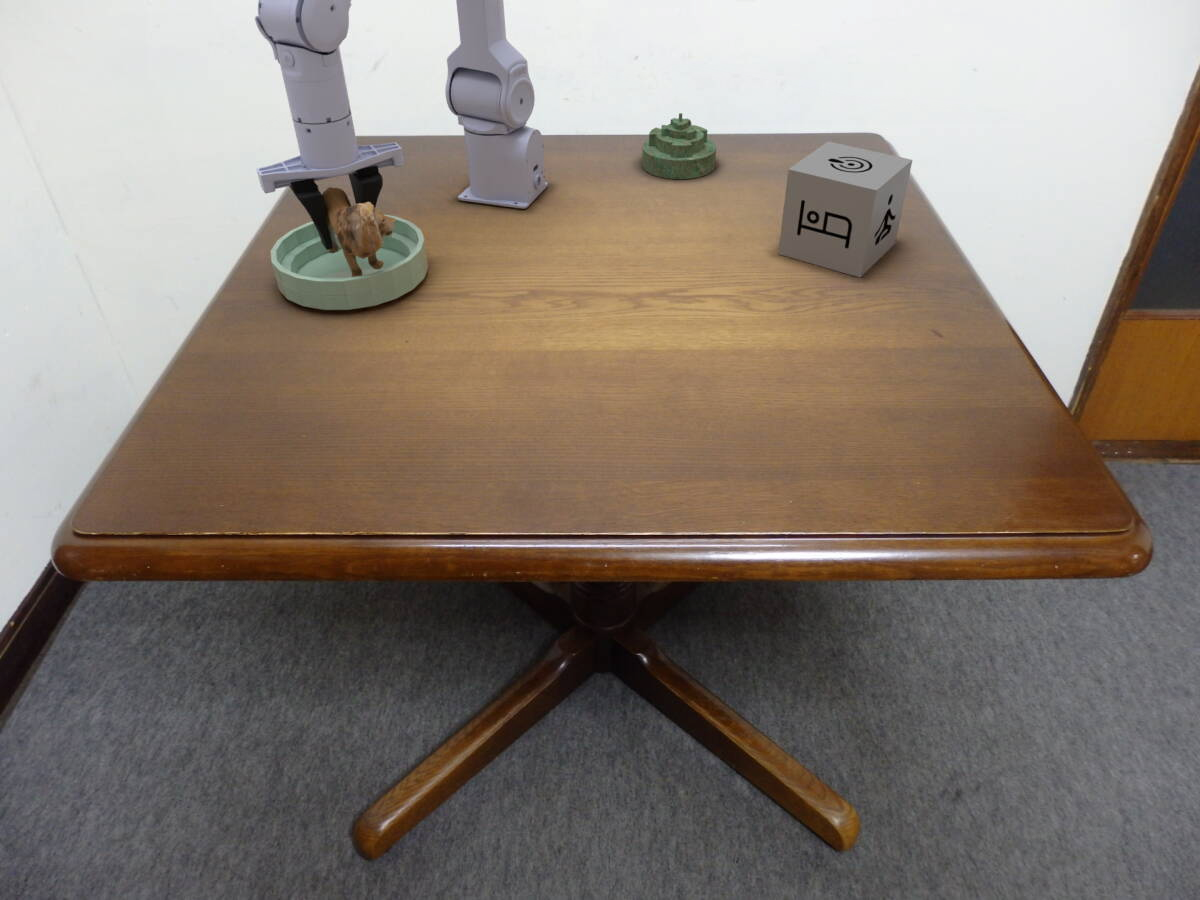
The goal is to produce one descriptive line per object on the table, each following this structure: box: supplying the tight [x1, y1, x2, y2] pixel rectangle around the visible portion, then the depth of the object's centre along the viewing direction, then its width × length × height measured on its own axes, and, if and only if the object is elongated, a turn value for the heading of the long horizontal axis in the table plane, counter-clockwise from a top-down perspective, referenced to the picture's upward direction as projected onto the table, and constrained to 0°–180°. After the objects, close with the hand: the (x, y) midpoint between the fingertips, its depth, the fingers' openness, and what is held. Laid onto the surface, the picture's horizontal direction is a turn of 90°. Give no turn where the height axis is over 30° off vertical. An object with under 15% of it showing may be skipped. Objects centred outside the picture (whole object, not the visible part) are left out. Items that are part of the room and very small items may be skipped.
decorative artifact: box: [641, 112, 717, 180], centre depth 123 cm, size 10×7×10 cm
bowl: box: [270, 214, 429, 311], centre depth 100 cm, size 16×16×4 cm
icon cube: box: [777, 141, 913, 278], centre depth 102 cm, size 10×10×10 cm
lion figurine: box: [321, 186, 396, 277], centre depth 95 cm, size 15×5×9 cm, turn 41°
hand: (347, 241), depth 99 cm, fingers closed on lion figurine, 4 cm apart
